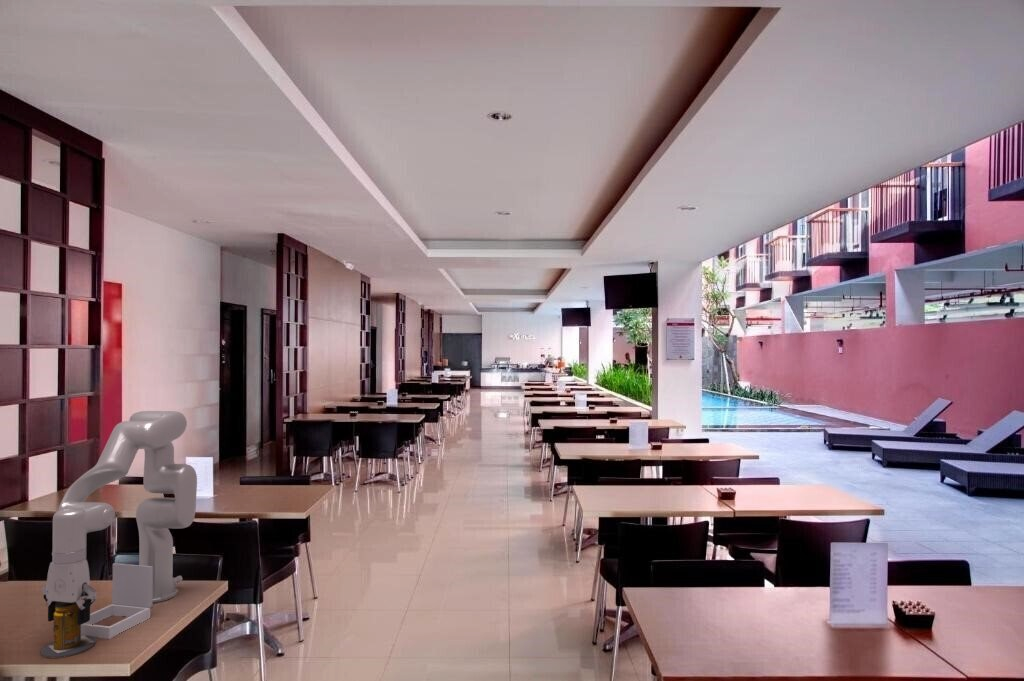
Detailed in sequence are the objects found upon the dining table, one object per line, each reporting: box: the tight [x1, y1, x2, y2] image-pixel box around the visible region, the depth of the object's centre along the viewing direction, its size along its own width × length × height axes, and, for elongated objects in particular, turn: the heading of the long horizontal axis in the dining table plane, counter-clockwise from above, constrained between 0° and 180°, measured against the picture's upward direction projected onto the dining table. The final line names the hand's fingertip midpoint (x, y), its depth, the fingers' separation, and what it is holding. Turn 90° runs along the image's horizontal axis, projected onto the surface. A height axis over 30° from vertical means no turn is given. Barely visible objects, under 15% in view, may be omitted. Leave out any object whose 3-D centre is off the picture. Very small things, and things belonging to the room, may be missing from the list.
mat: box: [40, 636, 96, 658], centre depth 176 cm, size 12×12×1 cm
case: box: [81, 562, 153, 640], centre depth 191 cm, size 16×14×15 cm
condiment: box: [49, 602, 94, 653], centre depth 176 cm, size 7×8×12 cm
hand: (68, 621), depth 176 cm, fingers open, 9 cm apart
